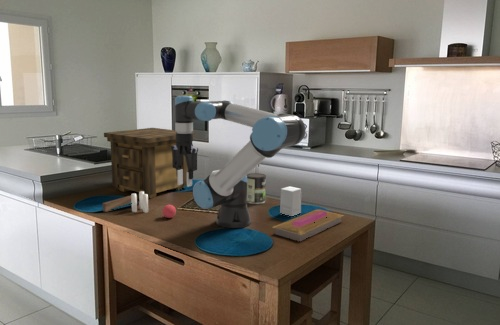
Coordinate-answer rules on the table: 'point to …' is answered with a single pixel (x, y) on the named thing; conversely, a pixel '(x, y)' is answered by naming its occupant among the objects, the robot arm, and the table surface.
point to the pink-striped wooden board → (307, 219)
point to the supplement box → (290, 201)
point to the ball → (169, 211)
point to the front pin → (145, 203)
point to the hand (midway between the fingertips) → (184, 185)
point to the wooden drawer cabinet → (144, 160)
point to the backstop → (116, 203)
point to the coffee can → (256, 188)
